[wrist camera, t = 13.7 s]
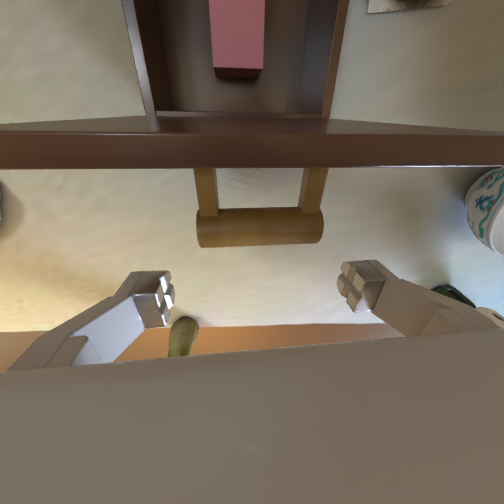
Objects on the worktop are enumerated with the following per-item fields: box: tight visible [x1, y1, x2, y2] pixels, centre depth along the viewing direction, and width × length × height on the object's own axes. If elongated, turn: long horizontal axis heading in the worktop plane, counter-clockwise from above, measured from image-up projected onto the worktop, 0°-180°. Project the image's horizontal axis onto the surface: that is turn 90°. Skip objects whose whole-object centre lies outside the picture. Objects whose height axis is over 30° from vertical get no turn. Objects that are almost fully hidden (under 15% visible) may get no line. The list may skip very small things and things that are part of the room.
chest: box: [121, 0, 349, 119], centre depth 17 cm, size 14×16×8 cm
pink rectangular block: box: [209, 0, 265, 79], centre depth 18 cm, size 7×4×4 cm, turn 0°
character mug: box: [433, 285, 504, 328], centre depth 37 cm, size 11×7×13 cm, turn 101°
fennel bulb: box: [168, 318, 199, 357], centre depth 34 cm, size 6×5×12 cm
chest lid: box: [0, 116, 504, 248], centre depth 12 cm, size 14×16×4 cm
